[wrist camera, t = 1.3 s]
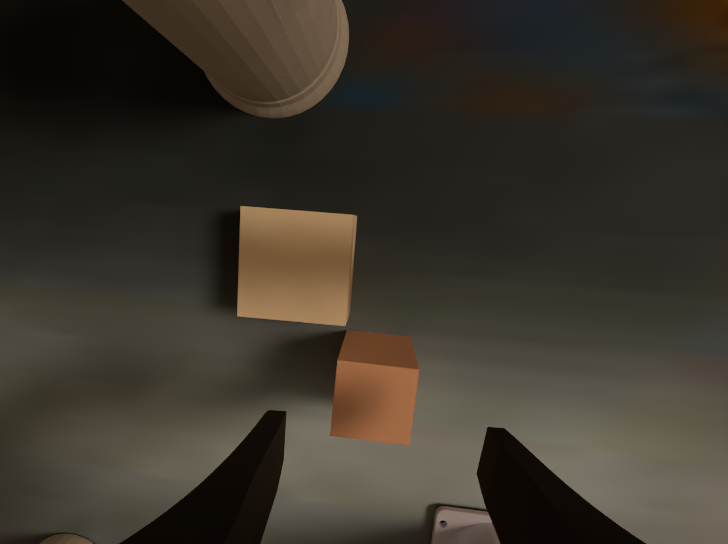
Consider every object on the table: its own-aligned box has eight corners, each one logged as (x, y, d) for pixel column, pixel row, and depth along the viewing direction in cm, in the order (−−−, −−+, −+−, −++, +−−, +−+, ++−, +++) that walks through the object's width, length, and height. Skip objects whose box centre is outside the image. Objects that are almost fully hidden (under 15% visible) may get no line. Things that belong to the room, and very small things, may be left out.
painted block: (403, 397, 23) (409, 445, 18) (340, 389, 23) (330, 435, 18) (410, 336, 22) (419, 369, 17) (346, 329, 22) (337, 359, 17)
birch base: (350, 312, 22) (345, 326, 19) (255, 304, 23) (237, 316, 20) (357, 216, 22) (353, 214, 19) (259, 208, 22) (240, 205, 19)
